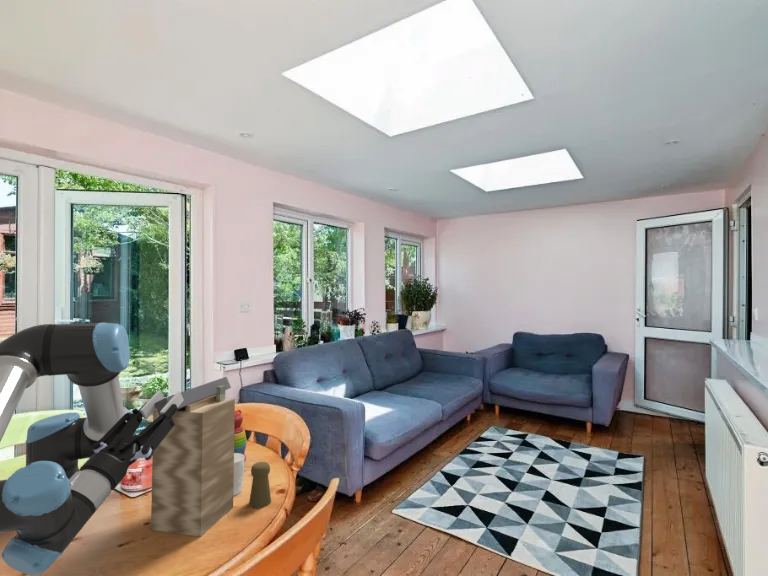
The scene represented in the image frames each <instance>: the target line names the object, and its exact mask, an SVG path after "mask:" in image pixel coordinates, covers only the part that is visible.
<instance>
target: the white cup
mask: <svg viewBox="0 0 768 576" xmlns="http://www.w3.org/2000/svg"><path fill="white" fill-rule="evenodd" d="M244 469H245V462H244V455H243V454H240V453H234V487H233V497H235V496H237V495H239V494H240V493H241V492H242V491H243V490H242V489H243V481H244Z"/></svg>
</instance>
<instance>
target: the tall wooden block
mask: <svg viewBox="0 0 768 576" xmlns="http://www.w3.org/2000/svg"><path fill="white" fill-rule="evenodd" d="M235 407H236V399H235V398H229V397H227V398H226V390H225V385H221V386H218V387H216V394H214V395H212V396H209V397H207V398H204V399H202V400H199V401H196V402H194V403H191V404H189V405H186V407H184V408H181V409H179V410H177V411H176V413H175V414H174V415H173V416H172V419H173V421H174V423H175V425H174V427H173V428H172V429H171V430H170V432H169V433H168V434H167V435H166V437H165V438H164V439H163V440H162V442H161V443H160V444H159V445H158V447H157V448H156V449H155V450H154V453H153V455H152V458H151V459H152V464H151V467H152V468H151V510H150V511H151V514H150V519H151V520H150V530H151V531H158V532H163V533H172V534H179V535H187V536H193V537H200V538H201V537H202V536H203V535H204V534H206V533H207V532H208V531H209V530H210V529H211V528H212V527H214V525H216V524H217V522H219V521H220V520H221V519H222V518H223V517H224V516H226V515H227V513H229V512H230V511H231V510H232V509H233V508H234V496H233V487H234V421H235V411H236V409H235ZM152 414H153V415H152V417H153V418H152V422H153V421H154V420H155V419H156V418H158V417H159V414H158V411H157V409H155V410H154V412H153V413H152ZM206 531H207V532H206Z"/></svg>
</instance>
